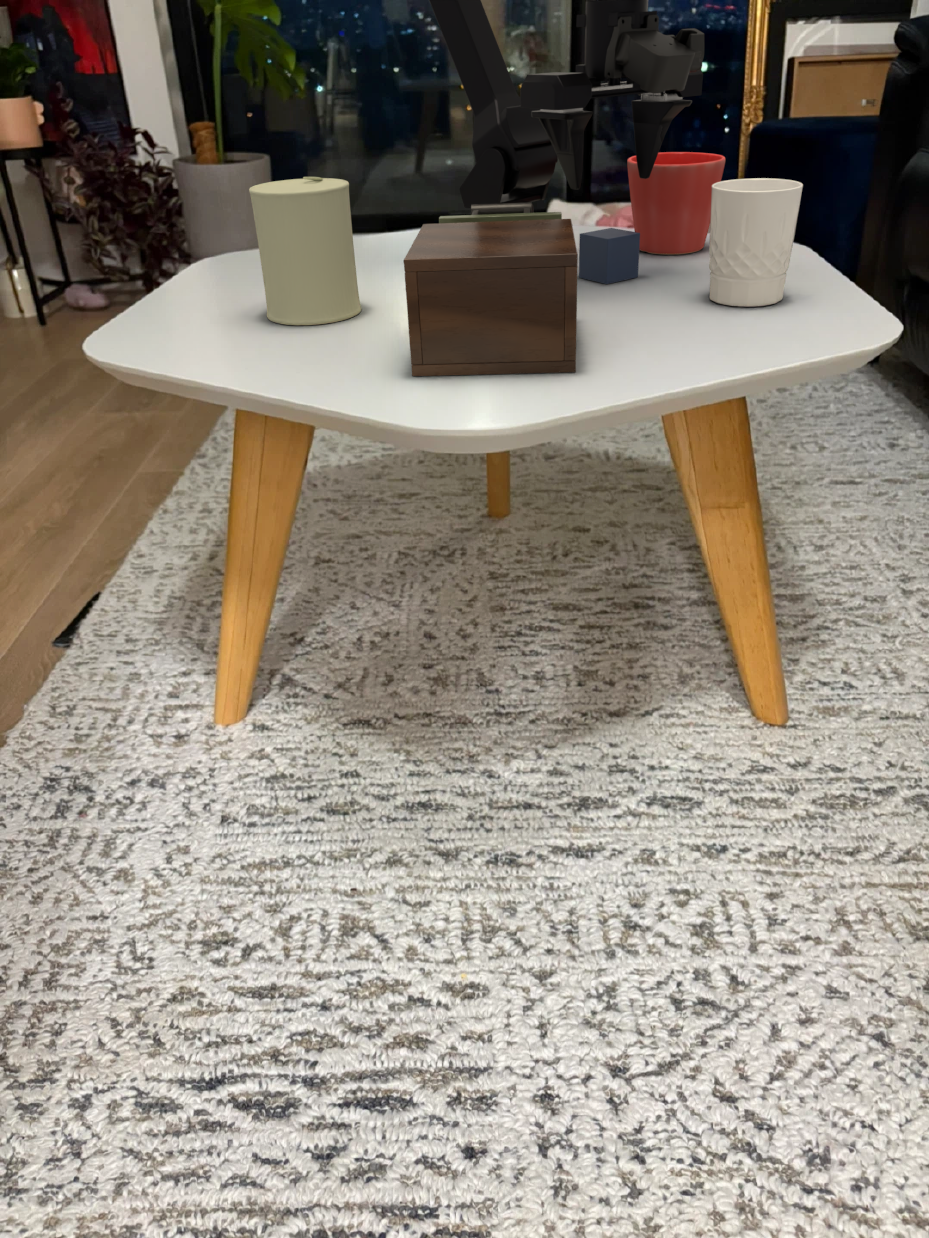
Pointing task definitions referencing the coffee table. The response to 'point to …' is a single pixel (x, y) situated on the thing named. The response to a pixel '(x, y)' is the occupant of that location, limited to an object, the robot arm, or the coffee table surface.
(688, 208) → the flower pot
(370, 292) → the coffee table surface
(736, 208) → the white cup
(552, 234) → the cabinet
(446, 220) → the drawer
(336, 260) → the can
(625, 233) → the block
